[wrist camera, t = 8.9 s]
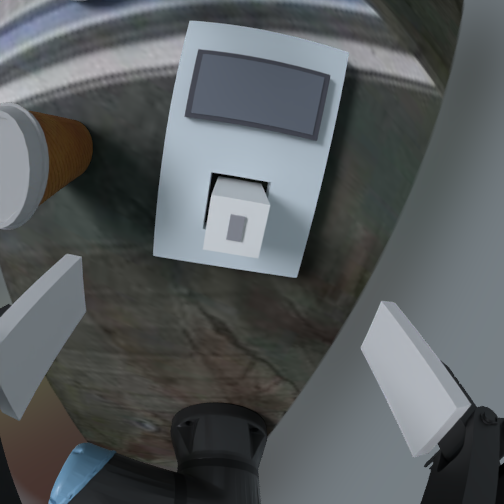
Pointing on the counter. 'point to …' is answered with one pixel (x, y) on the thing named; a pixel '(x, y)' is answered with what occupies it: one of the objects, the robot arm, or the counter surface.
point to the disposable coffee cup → (37, 159)
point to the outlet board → (244, 155)
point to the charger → (236, 217)
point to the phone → (257, 93)
